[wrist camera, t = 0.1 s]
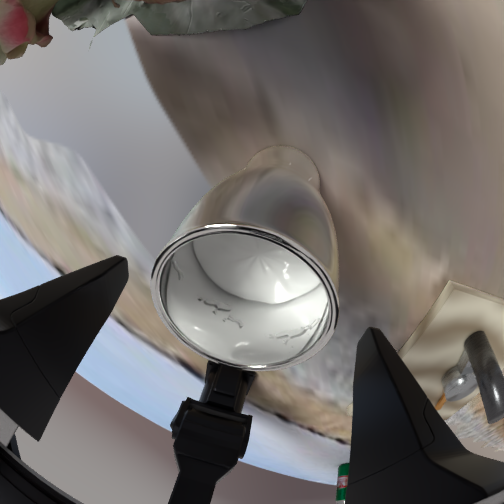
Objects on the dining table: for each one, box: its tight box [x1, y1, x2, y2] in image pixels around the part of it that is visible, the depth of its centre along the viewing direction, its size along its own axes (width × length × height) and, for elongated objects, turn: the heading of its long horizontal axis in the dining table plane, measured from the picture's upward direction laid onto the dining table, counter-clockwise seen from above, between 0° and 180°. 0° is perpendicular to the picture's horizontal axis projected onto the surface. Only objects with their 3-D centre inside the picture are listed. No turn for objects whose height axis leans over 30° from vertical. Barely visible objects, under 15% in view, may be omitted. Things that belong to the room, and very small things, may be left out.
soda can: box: [336, 463, 349, 504], centre depth 48 cm, size 5×5×12 cm
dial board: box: [347, 280, 504, 420], centre depth 29 cm, size 26×22×2 cm
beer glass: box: [151, 146, 339, 371], centre depth 16 cm, size 7×7×15 cm
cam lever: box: [435, 331, 504, 424], centre depth 23 cm, size 18×5×11 cm, turn 10°
